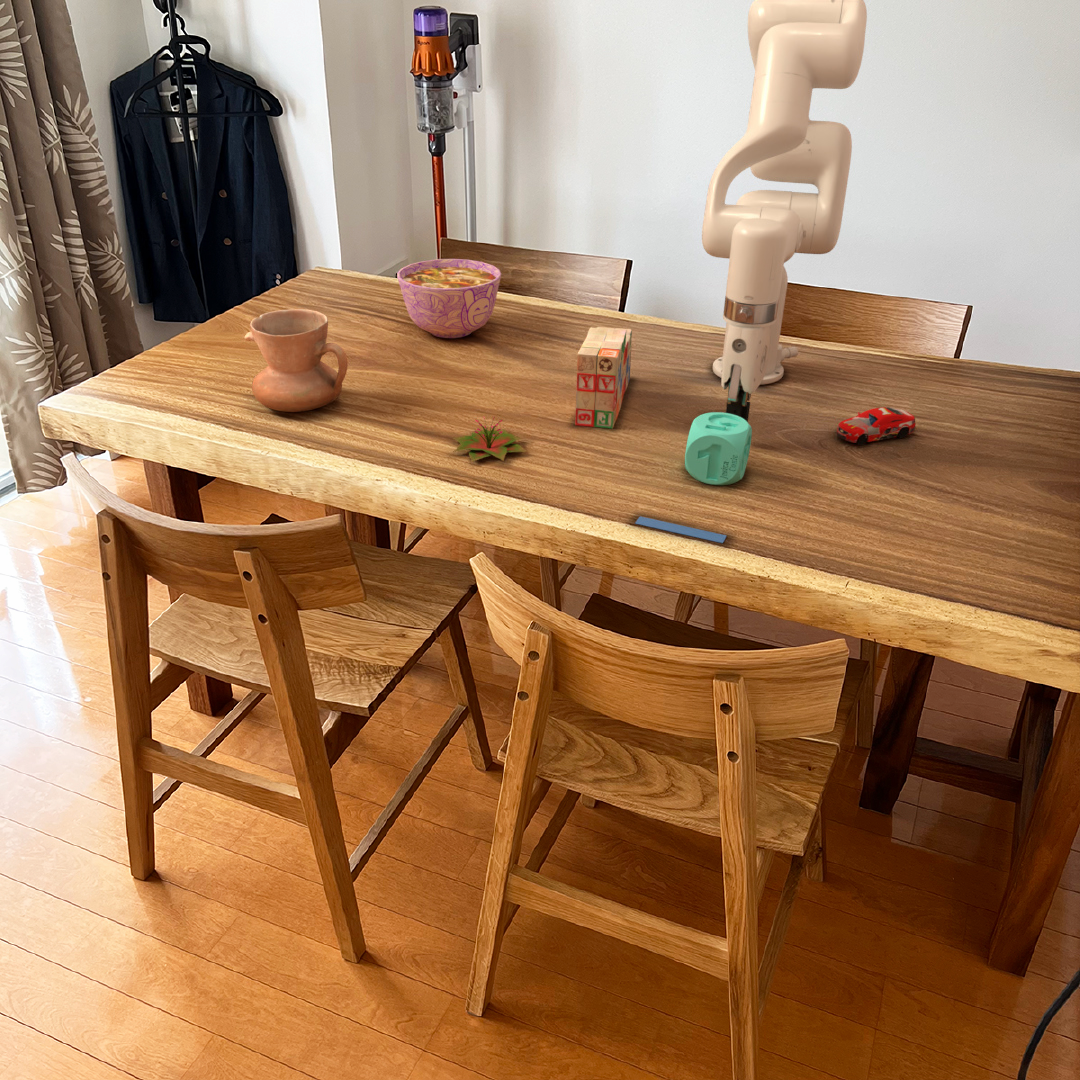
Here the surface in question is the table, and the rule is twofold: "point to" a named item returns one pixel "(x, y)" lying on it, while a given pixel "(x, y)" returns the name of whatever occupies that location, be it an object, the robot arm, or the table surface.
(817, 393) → the table surface
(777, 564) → the table surface
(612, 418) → the stack of blocks
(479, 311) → the bowl of food
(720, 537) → the tape line
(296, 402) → the ceramic jug
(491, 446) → the lily flower
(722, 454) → the decorative dice
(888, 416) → the race car
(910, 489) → the table surface
